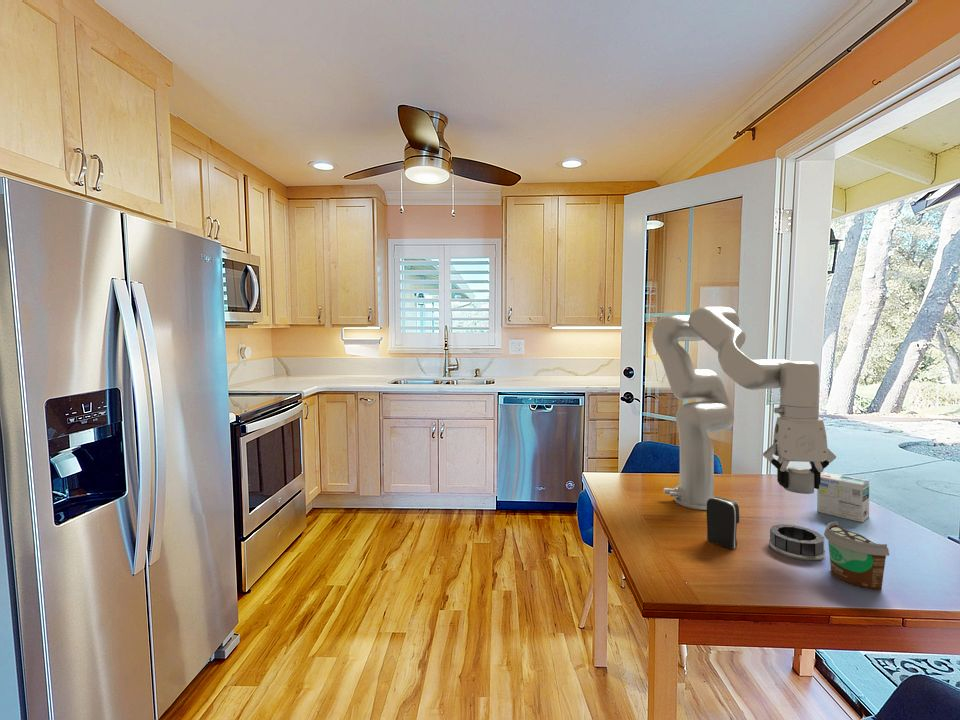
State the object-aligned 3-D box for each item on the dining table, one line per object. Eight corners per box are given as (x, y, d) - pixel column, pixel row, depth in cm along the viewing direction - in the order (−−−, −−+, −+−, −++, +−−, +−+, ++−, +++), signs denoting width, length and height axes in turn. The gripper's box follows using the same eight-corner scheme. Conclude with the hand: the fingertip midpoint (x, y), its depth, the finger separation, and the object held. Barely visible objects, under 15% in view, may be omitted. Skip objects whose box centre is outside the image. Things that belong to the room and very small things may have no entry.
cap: (791, 493, 105) (791, 472, 105) (779, 485, 111) (779, 465, 111) (819, 494, 104) (819, 473, 104) (805, 485, 110) (806, 465, 110)
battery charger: (741, 546, 110) (741, 501, 110) (733, 551, 108) (733, 504, 108) (713, 536, 116) (713, 493, 116) (705, 540, 114) (705, 496, 114)
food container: (809, 565, 101) (809, 522, 100) (834, 563, 101) (835, 520, 101) (860, 596, 89) (861, 547, 88) (888, 594, 89) (889, 545, 89)
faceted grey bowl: (781, 559, 104) (781, 542, 104) (761, 538, 115) (761, 522, 114) (835, 562, 102) (835, 545, 101) (809, 540, 112) (810, 525, 112)
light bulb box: (869, 517, 126) (870, 479, 125) (863, 523, 122) (864, 484, 121) (823, 506, 134) (824, 471, 134) (816, 512, 130) (816, 475, 130)
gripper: (766, 415, 105) (766, 490, 105) (849, 415, 102) (848, 493, 102) (753, 410, 112) (752, 480, 113) (830, 410, 109) (829, 482, 110)
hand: (798, 485), depth 108 cm, fingers closed on cap, 5 cm apart
